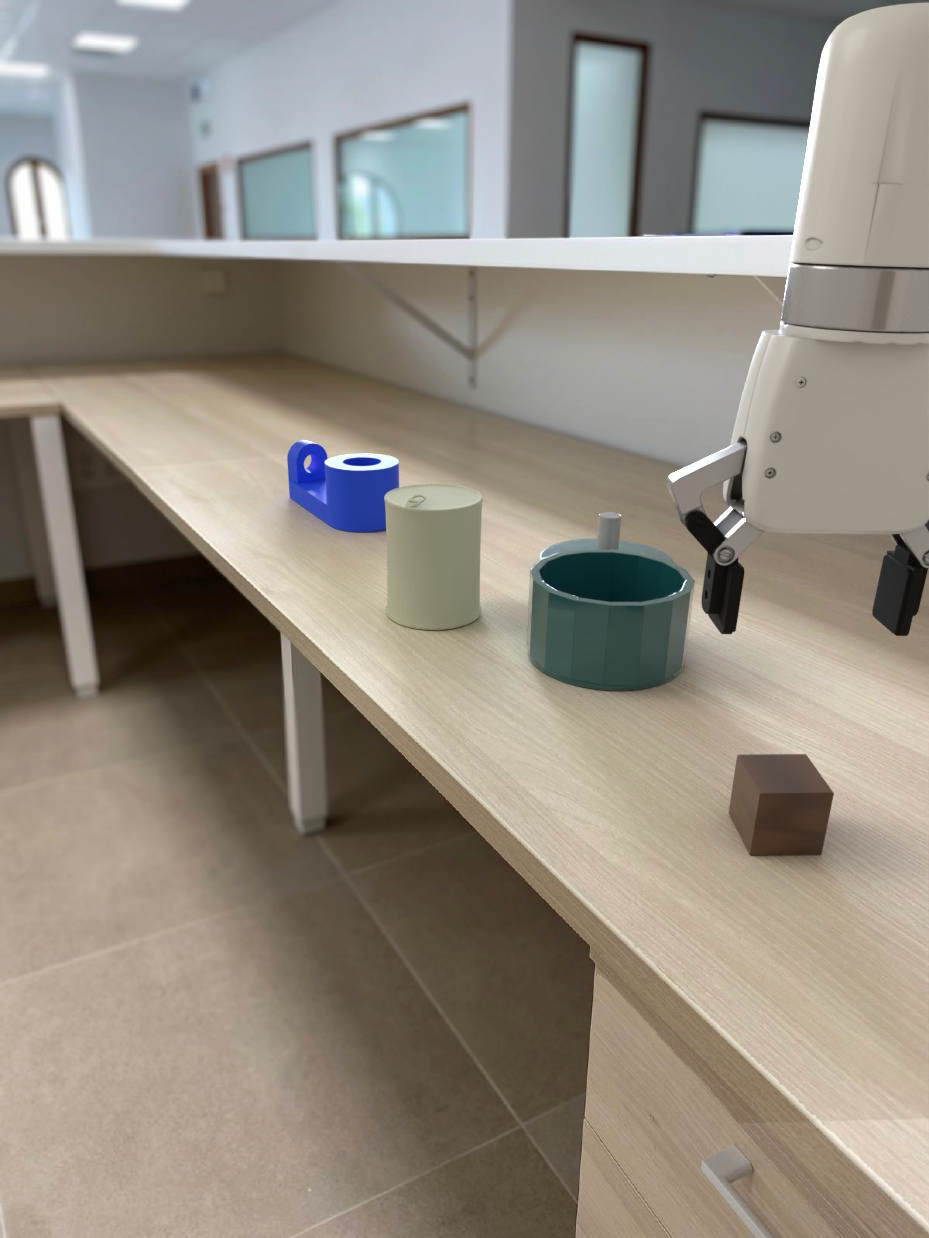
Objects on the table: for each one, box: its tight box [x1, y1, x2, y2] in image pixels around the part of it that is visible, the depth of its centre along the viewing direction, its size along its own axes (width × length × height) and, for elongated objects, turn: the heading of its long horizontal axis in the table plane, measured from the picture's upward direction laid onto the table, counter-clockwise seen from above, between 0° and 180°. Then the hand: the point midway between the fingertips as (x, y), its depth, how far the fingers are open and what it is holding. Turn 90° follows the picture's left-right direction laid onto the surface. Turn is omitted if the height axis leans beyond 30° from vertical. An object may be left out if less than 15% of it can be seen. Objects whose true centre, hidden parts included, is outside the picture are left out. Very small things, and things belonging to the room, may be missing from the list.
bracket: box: [286, 439, 400, 533], centre depth 119 cm, size 20×9×8 cm, turn 38°
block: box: [728, 753, 835, 856], centre depth 57 cm, size 4×4×4 cm
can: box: [384, 483, 484, 631], centre depth 88 cm, size 9×9×12 cm
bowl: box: [526, 550, 696, 692], centre depth 80 cm, size 14×14×8 cm
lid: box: [539, 511, 675, 564], centre depth 101 cm, size 15×15×6 cm
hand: (805, 625), depth 52 cm, fingers open, 9 cm apart
